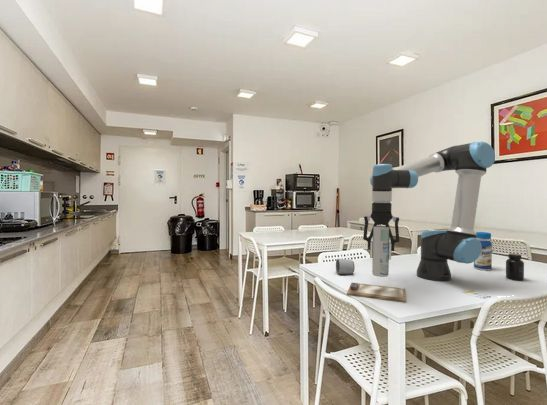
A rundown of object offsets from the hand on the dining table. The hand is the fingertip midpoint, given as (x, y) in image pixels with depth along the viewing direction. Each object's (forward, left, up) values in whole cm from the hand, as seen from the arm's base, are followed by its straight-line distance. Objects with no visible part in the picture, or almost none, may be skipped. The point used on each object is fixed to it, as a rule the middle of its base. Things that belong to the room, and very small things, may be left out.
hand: (380, 258), depth 121 cm
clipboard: (+1, 0, -15) cm, 15 cm away
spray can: (0, 0, -7) cm, 7 cm away
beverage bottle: (-51, -64, -15) cm, 83 cm away
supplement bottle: (-60, -47, -15) cm, 77 cm away
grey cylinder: (+19, -26, -15) cm, 35 cm away
